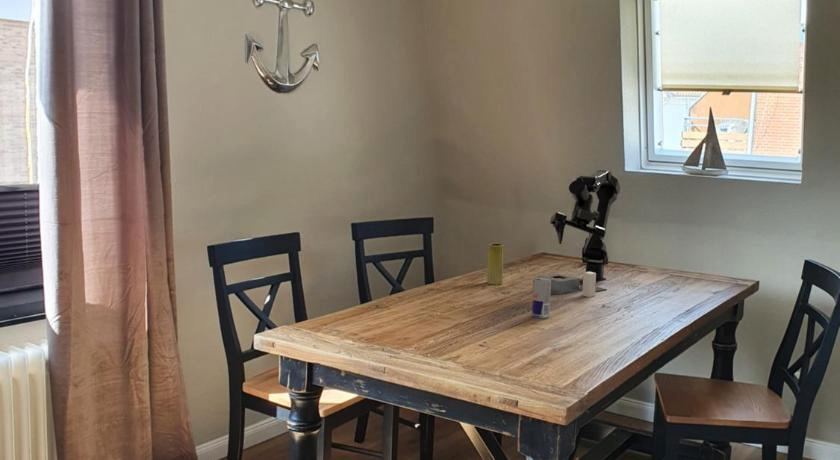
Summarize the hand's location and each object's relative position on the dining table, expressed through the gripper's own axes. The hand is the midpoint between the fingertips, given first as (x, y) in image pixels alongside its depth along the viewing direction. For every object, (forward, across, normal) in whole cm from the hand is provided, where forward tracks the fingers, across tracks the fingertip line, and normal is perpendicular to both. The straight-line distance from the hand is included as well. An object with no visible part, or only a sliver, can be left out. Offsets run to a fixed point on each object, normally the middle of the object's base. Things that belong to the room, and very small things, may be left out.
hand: (572, 248), depth 296 cm
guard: (+12, +2, +12) cm, 17 cm away
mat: (+8, +13, +11) cm, 19 cm away
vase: (+13, -18, +24) cm, 33 cm away
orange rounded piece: (+10, +2, +11) cm, 15 cm away
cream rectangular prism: (+13, +10, +3) cm, 17 cm away
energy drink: (+34, -10, -20) cm, 40 cm away
